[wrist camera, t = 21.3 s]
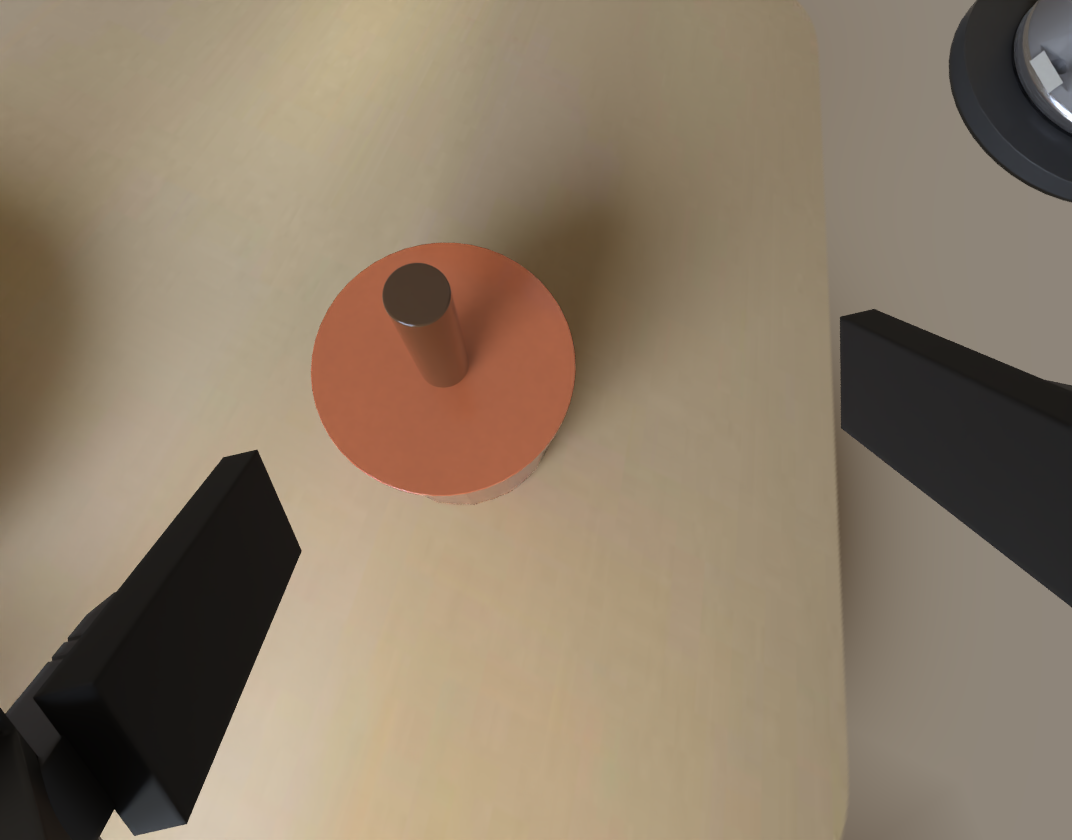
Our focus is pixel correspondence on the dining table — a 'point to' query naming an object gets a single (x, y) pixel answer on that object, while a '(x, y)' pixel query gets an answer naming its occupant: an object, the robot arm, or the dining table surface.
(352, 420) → the lid
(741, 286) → the dining table surface
